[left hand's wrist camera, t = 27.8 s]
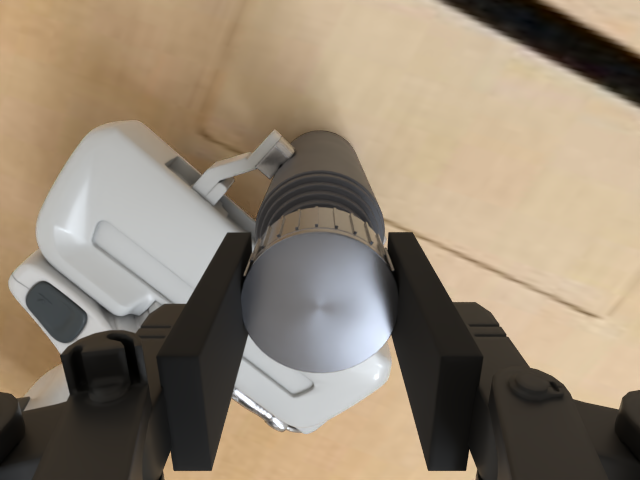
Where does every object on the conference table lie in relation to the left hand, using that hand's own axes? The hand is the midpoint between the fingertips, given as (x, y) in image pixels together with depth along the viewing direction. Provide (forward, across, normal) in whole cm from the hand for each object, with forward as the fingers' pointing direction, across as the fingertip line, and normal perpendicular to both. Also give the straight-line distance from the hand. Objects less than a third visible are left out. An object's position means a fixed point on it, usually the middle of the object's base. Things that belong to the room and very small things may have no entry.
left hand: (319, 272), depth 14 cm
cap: (-2, 0, 0) cm, 2 cm away
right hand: (+9, -1, -1) cm, 9 cm away
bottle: (+16, 0, 0) cm, 16 cm away
